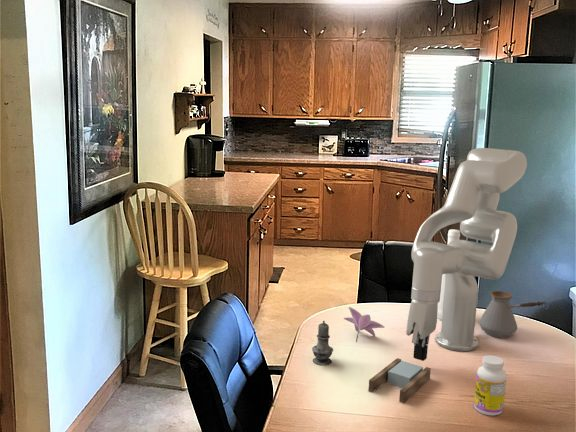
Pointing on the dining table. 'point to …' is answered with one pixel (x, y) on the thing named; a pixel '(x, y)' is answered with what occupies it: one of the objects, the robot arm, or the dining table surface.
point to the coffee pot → (501, 315)
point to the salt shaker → (322, 346)
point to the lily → (362, 322)
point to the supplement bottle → (490, 386)
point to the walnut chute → (407, 389)
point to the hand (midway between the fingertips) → (419, 358)
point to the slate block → (403, 373)
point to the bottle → (452, 236)
